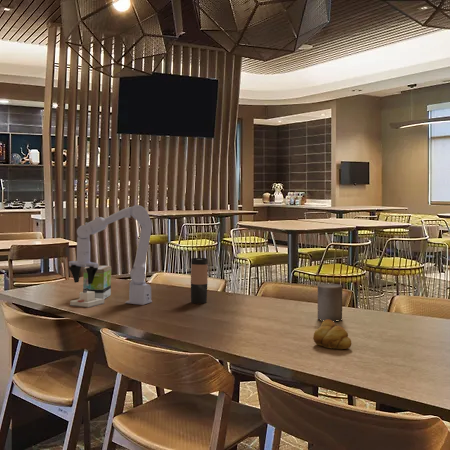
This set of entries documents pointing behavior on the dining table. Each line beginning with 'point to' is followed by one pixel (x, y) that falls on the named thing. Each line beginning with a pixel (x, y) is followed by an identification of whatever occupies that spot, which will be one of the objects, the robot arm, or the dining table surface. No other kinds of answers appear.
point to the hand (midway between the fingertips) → (83, 282)
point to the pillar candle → (330, 301)
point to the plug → (87, 295)
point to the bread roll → (332, 336)
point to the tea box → (99, 282)
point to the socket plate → (86, 303)
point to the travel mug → (199, 280)
